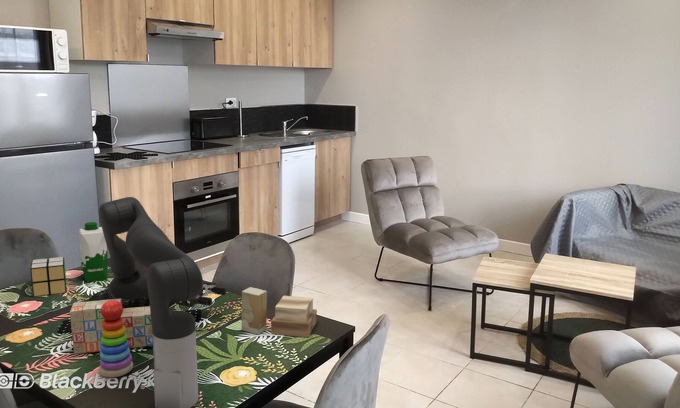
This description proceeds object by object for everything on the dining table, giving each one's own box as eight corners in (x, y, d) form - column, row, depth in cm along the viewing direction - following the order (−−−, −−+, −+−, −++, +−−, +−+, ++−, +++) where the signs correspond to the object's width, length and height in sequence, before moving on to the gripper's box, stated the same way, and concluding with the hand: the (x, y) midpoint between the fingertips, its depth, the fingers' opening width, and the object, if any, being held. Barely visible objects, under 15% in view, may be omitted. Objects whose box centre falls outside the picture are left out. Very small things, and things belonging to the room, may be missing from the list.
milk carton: (106, 272, 215) (103, 220, 211) (110, 280, 207) (106, 226, 203) (81, 276, 211) (76, 223, 206) (83, 284, 203) (79, 229, 199)
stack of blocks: (158, 336, 164) (156, 295, 161) (157, 345, 158) (155, 303, 155) (76, 344, 158) (73, 301, 155) (73, 354, 152) (69, 310, 149)
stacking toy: (94, 370, 144) (88, 299, 140) (125, 359, 149) (120, 291, 145) (107, 382, 138) (101, 309, 134) (138, 371, 144) (134, 300, 140)
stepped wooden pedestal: (308, 337, 164) (308, 311, 162) (271, 333, 166) (270, 307, 164) (316, 321, 175) (316, 297, 173) (281, 318, 177) (281, 294, 175)
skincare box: (241, 330, 168) (240, 290, 165) (250, 325, 172) (249, 286, 169) (259, 335, 165) (258, 295, 162) (267, 329, 169) (267, 290, 166)
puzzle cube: (34, 287, 199) (31, 259, 197) (66, 283, 203) (64, 256, 201) (33, 297, 190) (30, 268, 188) (66, 293, 194) (64, 264, 192)
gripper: (156, 285, 167) (206, 293, 162) (183, 270, 180) (230, 276, 176) (157, 309, 169) (207, 317, 164) (184, 292, 182) (230, 299, 177)
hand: (218, 296), depth 170 cm, fingers open, 8 cm apart
